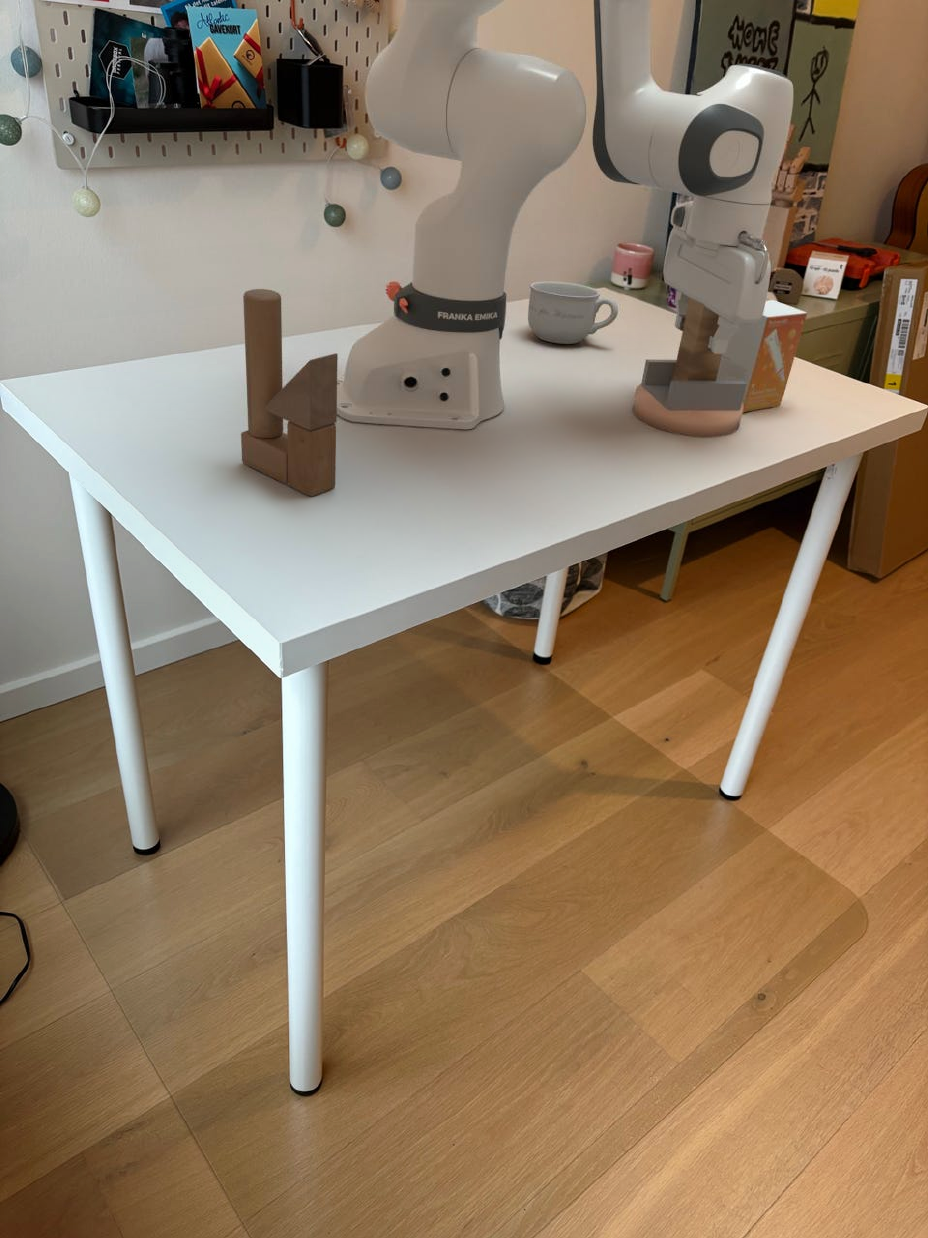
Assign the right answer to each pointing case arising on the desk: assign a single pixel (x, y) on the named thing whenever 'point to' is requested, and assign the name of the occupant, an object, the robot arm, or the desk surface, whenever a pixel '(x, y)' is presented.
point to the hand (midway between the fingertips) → (698, 340)
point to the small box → (763, 355)
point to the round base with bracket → (687, 402)
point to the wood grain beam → (697, 346)
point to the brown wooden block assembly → (287, 404)
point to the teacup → (566, 311)
